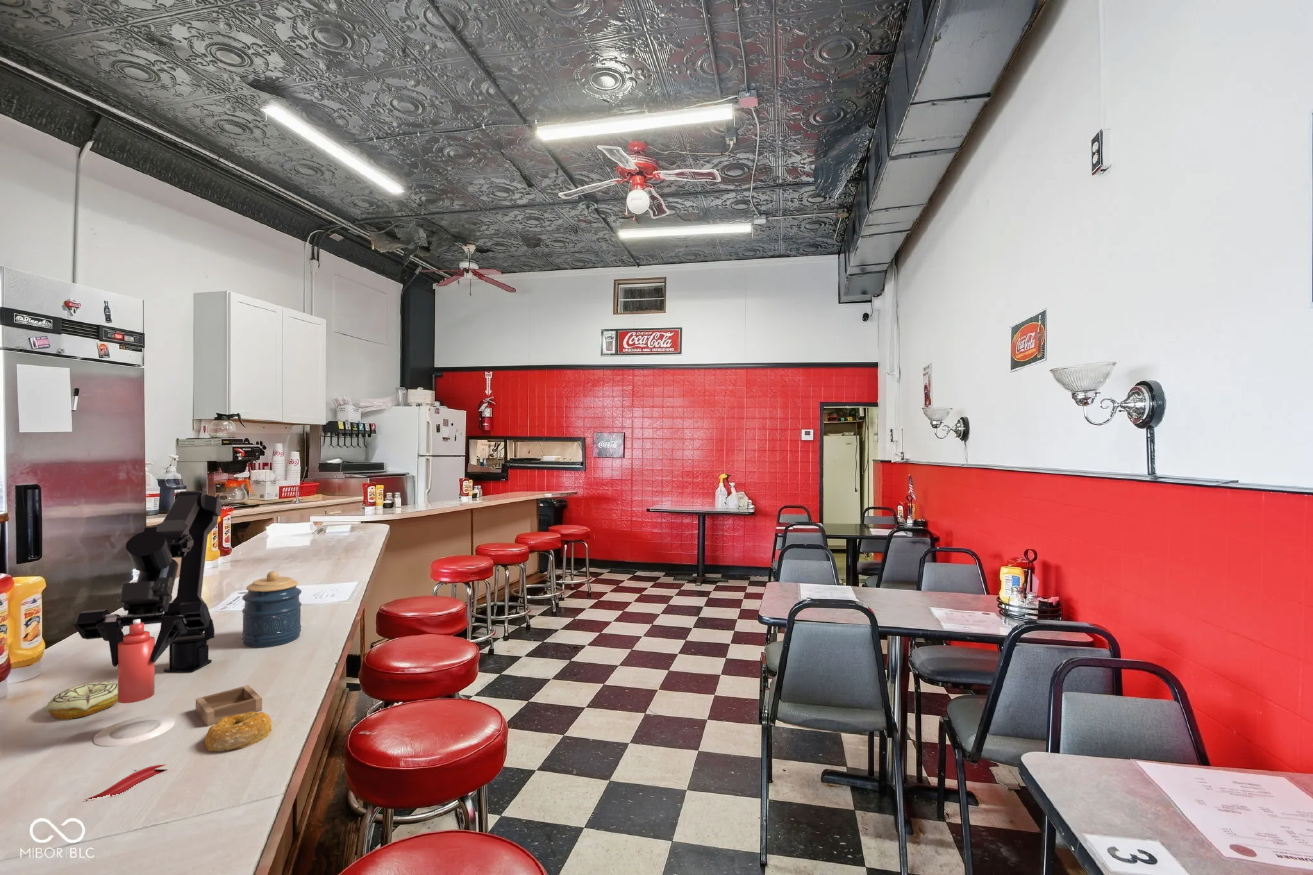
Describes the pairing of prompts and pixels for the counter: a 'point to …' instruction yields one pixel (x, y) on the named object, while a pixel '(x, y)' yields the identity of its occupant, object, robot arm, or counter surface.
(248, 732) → the bagel
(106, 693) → the decorated donut
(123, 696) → the ketchup bottle
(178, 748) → the counter surface
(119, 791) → the cayenne pepper
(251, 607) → the canister
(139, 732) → the saucer
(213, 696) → the tray
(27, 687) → the counter surface
